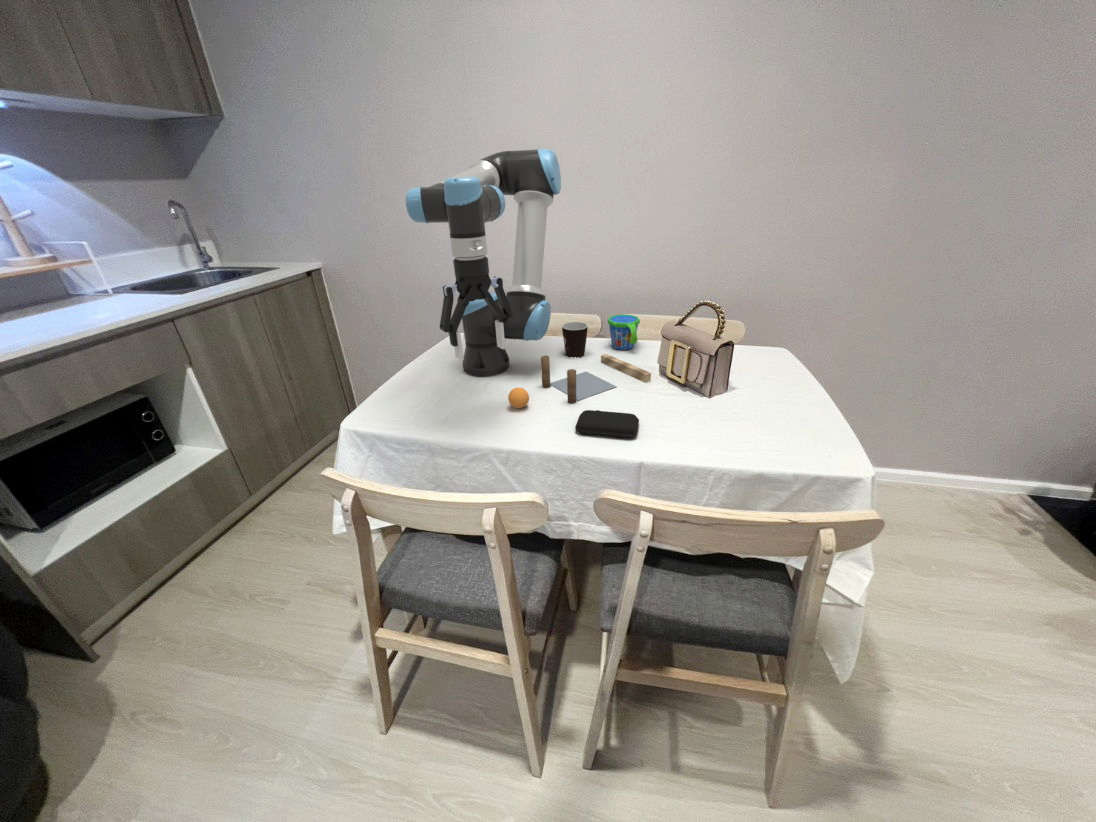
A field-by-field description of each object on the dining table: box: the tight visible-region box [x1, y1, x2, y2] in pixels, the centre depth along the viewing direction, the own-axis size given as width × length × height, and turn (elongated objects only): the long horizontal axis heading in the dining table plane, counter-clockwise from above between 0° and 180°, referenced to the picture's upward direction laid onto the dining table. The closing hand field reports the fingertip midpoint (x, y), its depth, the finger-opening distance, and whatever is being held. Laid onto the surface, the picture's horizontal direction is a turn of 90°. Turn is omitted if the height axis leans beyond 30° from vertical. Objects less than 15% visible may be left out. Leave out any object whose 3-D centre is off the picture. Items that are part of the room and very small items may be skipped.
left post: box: [540, 355, 551, 389], centre depth 132 cm, size 2×2×9 cm
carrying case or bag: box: [574, 409, 640, 440], centre depth 112 cm, size 11×3×15 cm
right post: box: [566, 368, 577, 404], centre depth 123 cm, size 2×2×9 cm
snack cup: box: [607, 313, 641, 351], centre depth 158 cm, size 16×10×10 cm
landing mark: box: [550, 371, 617, 402], centre depth 134 cm, size 14×14×1 cm
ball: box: [507, 387, 530, 409], centre depth 122 cm, size 6×6×6 cm
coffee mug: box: [561, 321, 589, 359], centre depth 155 cm, size 12×9×10 cm
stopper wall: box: [600, 353, 652, 383], centre depth 141 cm, size 20×2×2 cm, turn 35°
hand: (481, 352), depth 110 cm, fingers open, 10 cm apart
